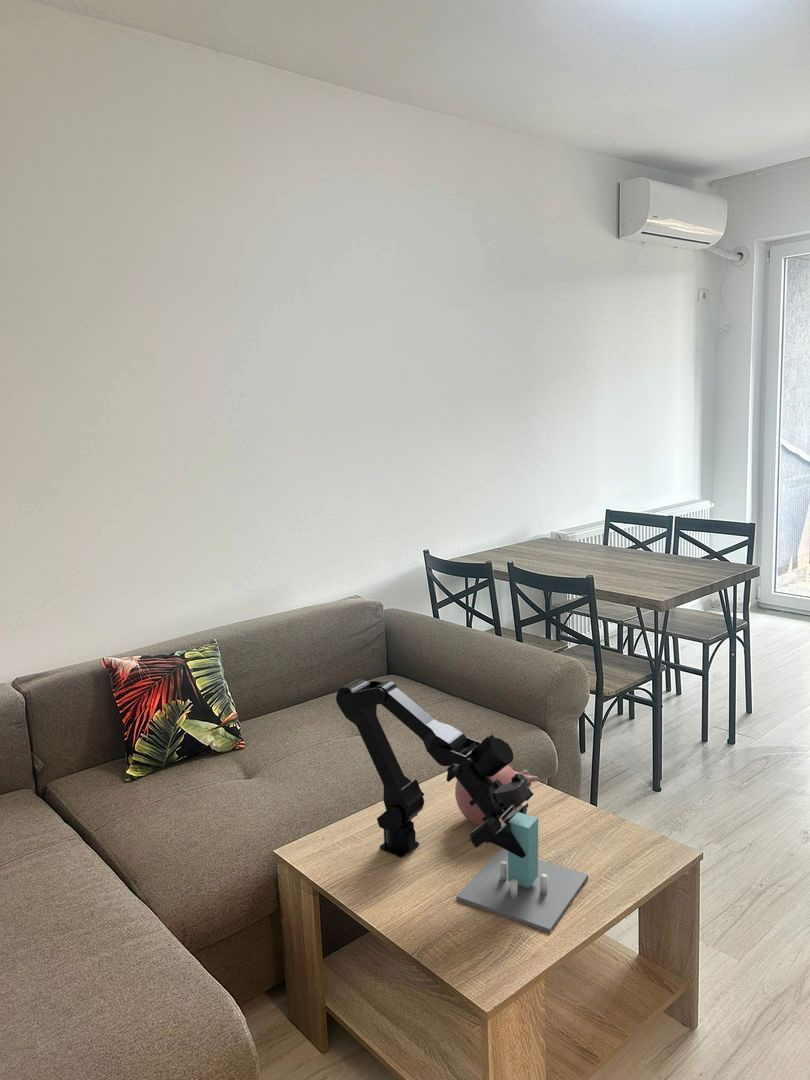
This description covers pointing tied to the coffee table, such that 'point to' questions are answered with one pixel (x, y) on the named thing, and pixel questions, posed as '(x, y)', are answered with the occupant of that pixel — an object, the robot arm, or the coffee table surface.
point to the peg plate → (524, 892)
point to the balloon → (473, 811)
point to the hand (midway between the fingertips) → (529, 850)
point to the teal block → (524, 849)
